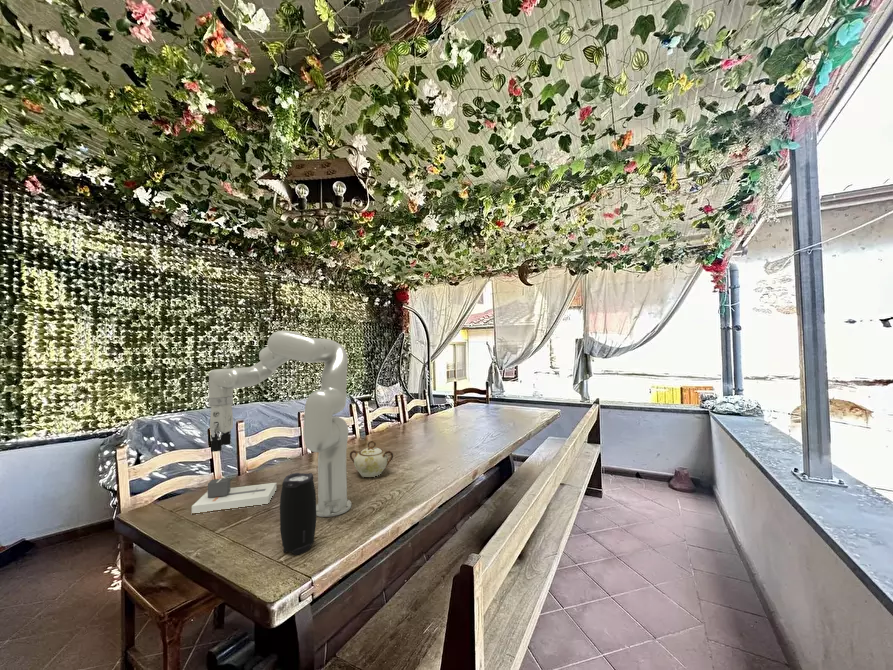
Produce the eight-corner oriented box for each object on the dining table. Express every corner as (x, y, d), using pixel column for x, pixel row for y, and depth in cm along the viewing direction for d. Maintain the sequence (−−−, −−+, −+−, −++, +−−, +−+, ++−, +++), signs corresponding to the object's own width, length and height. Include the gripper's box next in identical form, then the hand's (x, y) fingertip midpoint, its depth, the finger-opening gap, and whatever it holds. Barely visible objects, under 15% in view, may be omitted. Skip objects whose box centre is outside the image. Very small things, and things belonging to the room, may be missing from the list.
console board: (268, 504, 123) (268, 495, 123) (191, 515, 117) (191, 505, 117) (276, 490, 137) (276, 482, 137) (208, 498, 130) (208, 490, 130)
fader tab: (226, 495, 124) (226, 481, 124) (207, 497, 122) (207, 483, 123) (230, 491, 128) (230, 477, 128) (212, 493, 126) (212, 479, 127)
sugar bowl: (396, 468, 158) (396, 436, 158) (389, 481, 143) (388, 445, 144) (355, 469, 159) (355, 437, 160) (343, 481, 144) (343, 445, 145)
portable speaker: (282, 543, 97) (282, 474, 98) (316, 536, 100) (316, 469, 101) (278, 560, 89) (278, 484, 90) (316, 552, 92) (315, 478, 93)
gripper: (224, 404, 120) (224, 452, 119) (239, 398, 137) (239, 441, 136) (199, 405, 118) (199, 455, 117) (218, 399, 135) (218, 443, 134)
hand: (221, 447), depth 126 cm, fingers open, 9 cm apart
